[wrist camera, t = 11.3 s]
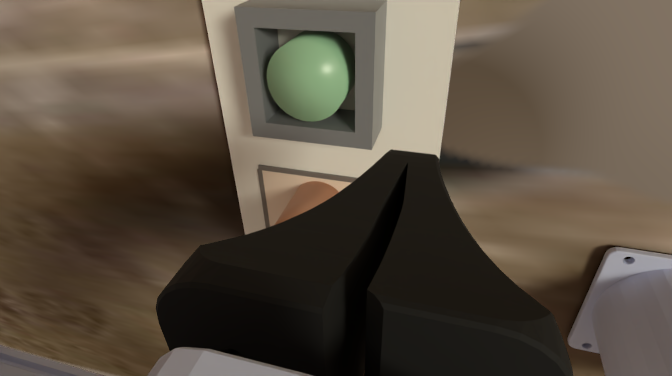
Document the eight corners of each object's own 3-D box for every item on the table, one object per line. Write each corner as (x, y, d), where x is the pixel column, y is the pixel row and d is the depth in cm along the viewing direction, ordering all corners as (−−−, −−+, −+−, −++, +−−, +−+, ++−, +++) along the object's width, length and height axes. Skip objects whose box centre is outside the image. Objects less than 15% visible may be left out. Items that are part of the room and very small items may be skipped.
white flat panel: (462, -14, 18) (461, -11, 17) (415, 346, 31) (413, 354, 31) (205, -20, 21) (197, -17, 20) (263, 312, 34) (259, 319, 33)
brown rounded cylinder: (346, 230, 26) (315, 305, 21) (295, 221, 27) (254, 291, 22) (347, 184, 24) (312, 256, 19) (292, 176, 25) (245, 243, 20)
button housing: (387, -1, 18) (375, 12, 16) (381, 127, 22) (371, 150, 20) (258, -4, 20) (233, 6, 18) (272, 116, 23) (252, 136, 21)
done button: (357, 30, 19) (344, 43, 17) (357, 106, 21) (345, 125, 19) (281, 26, 20) (262, 38, 18) (288, 99, 22) (271, 117, 20)
